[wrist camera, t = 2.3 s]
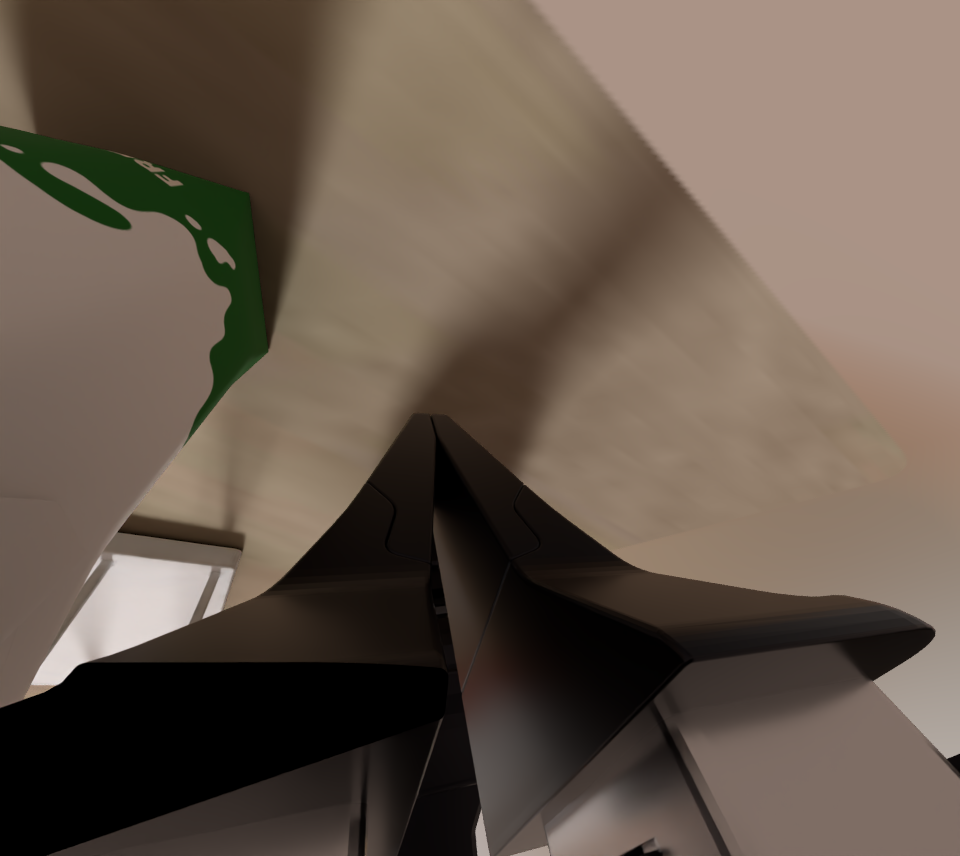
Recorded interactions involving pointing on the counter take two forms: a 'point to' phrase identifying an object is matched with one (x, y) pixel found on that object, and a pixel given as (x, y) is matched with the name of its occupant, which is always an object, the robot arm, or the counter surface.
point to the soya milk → (103, 358)
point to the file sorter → (139, 599)
